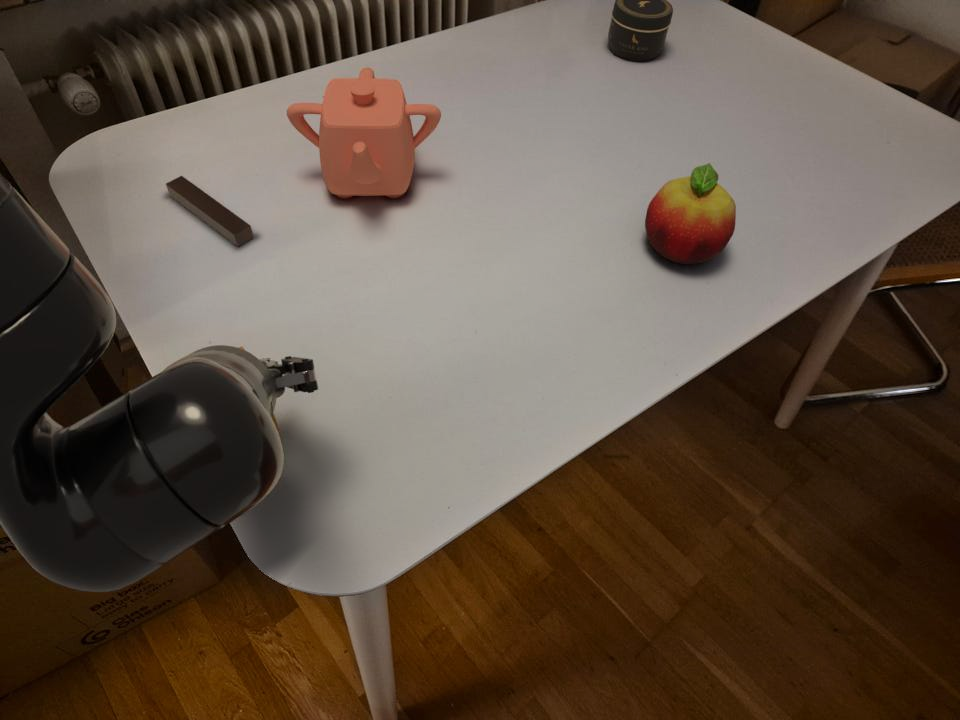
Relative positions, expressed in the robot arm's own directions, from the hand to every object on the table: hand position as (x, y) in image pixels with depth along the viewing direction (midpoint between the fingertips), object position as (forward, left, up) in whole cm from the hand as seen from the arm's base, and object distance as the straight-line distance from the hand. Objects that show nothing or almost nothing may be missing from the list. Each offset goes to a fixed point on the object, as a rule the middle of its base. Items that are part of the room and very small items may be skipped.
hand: (241, 374), depth 61 cm
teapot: (+34, +19, -7) cm, 40 cm away
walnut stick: (+15, +28, -7) cm, 33 cm away
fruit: (+52, -19, -7) cm, 56 cm away
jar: (+92, +13, -7) cm, 93 cm away
